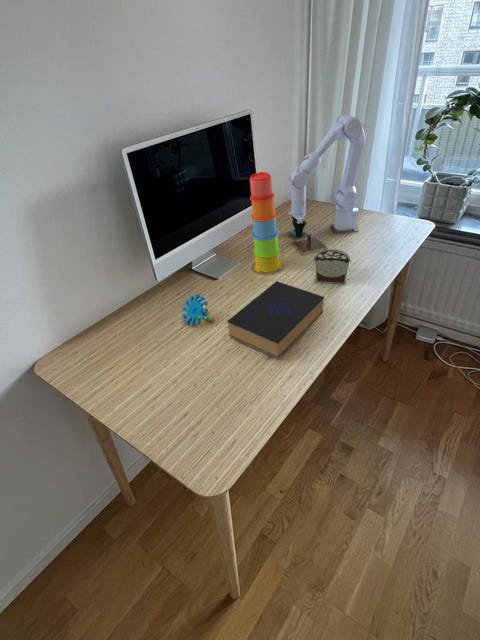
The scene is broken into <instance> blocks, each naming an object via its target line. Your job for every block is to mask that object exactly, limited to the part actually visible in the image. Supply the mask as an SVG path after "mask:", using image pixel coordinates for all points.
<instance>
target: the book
mask: <svg viewBox="0 0 480 640" xmlns="http://www.w3.org/2000/svg"><path fill="white" fill-rule="evenodd" d="M324 300H325V296H322V295H320V294H317V293H314V292H312V291H308V290H305V289H302V288H299V287H295V286H292V285H290V284H287V283H284V282H280V281H278V280H276V281H274V283H272V284H271V285H270V286H268V287H267V288H266V289H265V290H264V291H262V292H261V293H260V294H259V295H258V296H256V297H255V298H254V299H253V300H251V301H250V302H249V303H247V305H245V306H244V307H243V308H242V309H240V310H239V311H238V312H237V313H235V314H234V315H233V316H232V317H231V318H229V319H228V320H227V321H226V323H227V325H228V332H229V333H228V334H229V335H228V337H230V338H232V339H234V340H236V341H238V342H240V343H242V344H244V345H246V346H249V347H250V348H253V349H256V350H257V351H260V352H261V353H264V354H266V355H268V356H270V357H273V358H275V359H277V360H279V359H280V358H281V357H282V356H283V355H284V354H285V353H286V352H287V351H288V349H290V347H292V346H293V344H295V342H296V341H297V340H298V339H299V338H300V337H301V336H302V335H304V333H305V332H306V331H307V330H308V329H309V328H310V327H311V326H312V325H313V324H314V323H315V322H316V321H317V320H318V319H319V318H320V317H321V316H322V315H323V314H324Z"/></svg>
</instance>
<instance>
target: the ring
mask: <svg viewBox="0 0 480 640" xmlns="http://www.w3.org/2000/svg"><path fill="white" fill-rule="evenodd" d="M290 235H291V236H292V237H295V238H297V237H296V233H295V228H292V229H291V230H290ZM305 235H306V231H305V229H303V232H302V236H301V237H303V236H305Z"/></svg>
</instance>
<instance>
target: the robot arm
mask: <svg viewBox="0 0 480 640" xmlns="http://www.w3.org/2000/svg"><path fill="white" fill-rule="evenodd" d="M345 139H347V141H348V142H349V146H348V152H347V156H346V159H345V166H344V171H343V174H342V179H341V184H340V185H339V186H338V187H337V190H336V192H335V193H334V196H333V201H334V202H335V208H334V209H335V210H334V221H333V222H334V224H333V228H334V229H335V230H337V231H351V230H353V231H354V232H358V225H359V224H358V223H359V209H358V207H356V206H357V191H356V184H357V178H358V173H359V170H360V165H361V162H362V156H363V153H364V148H365V144H366V134H365V130H364V123H363V122H362V121H361V119H360V118H358V117H356V116H352V115H350V114H349V113H341V114H340V115H339V116H338V117H337V118H336V120H335V121H334V122H333V123H332V124H331V126H330V129H329V130H328V132H327V133H326V134H325V136H324V137H323V139H322V140H321V141H320V143H319V145H317V147H316V148H315V150H314V151H313V152H308V154H305V156H304V157H303V161H302V162H301V163H300V164H299V166H296V168H295V170H293V171H292V172H291V173H290V177H289V182H290V183H291V191H290V192H291V193H290V194H291V195H290V197H291V198H290V199H291V200H290V201H291V202H290V203H291V207H290V208H291V209H290V211H288V215H289V216H291V218H292V221H291V223H292V225H293V227H294V228H295V233H296V237H295V238H302V237H303V236H302V232H303V229H304V228H305V226H306V224H307V220H303V219H304V218H305V216H306V213H307V210H306V203H307V201H306V200H307V195H306V194H307V190H306V189H307V185H308V184H309V180H310V177H311V176H312V174H314V172H315V171H316V170H317V169H318V167H319V166H320V165H321V161H322V157H323V156H324V155H325V154H326V153H327V152H328V150H330V148H331V147H332V146H333V145H334V144H335V142H337V141H341V140H345ZM294 228H293V229H294ZM304 230H305V229H304Z"/></svg>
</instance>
